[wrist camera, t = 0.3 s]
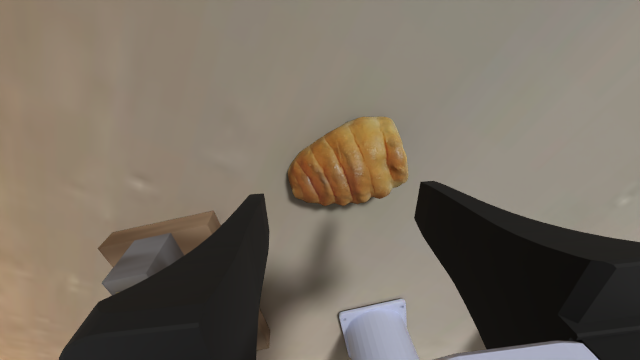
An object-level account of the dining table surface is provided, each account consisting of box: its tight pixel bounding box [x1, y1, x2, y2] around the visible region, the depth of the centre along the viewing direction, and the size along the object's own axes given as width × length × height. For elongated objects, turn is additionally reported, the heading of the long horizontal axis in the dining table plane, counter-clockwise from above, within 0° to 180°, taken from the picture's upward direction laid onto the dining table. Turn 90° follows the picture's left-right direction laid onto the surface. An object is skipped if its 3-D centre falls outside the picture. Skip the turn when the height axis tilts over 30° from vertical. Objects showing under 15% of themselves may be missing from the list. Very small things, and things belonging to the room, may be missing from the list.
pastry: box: [288, 117, 408, 206], centre depth 20 cm, size 9×7×4 cm
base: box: [98, 211, 270, 351], centre depth 24 cm, size 18×9×6 cm, turn 11°
